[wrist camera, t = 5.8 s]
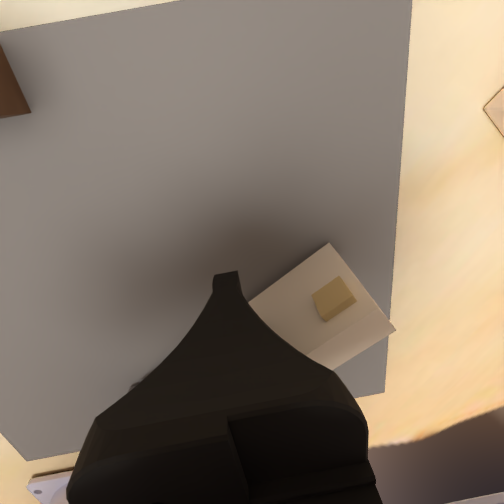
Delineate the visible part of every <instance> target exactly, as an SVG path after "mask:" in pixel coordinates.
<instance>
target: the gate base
mask: <svg viewBox="0 0 504 504" xmlns="http://www.w3.org/2000/svg"><path fill="white" fill-rule="evenodd" d="M411 12H412V0H179V1H173V2H168V3H162V4H156V5H151V6H145V7H139V8H134V9H128V10H122V11H117V12H111V13H105V14H99V15H94V16H88V17H82V18H77V19H71V20H65V21H60V22H54V23H48V24H43V25H37V26H31V27H26V28H20V29H14V30H9V31H3V32H0V44H1V47H2V49H3V51H4V53H5V55H6V58H7V60H8V62H9V64H10V66H11V69H12V71H13V73H14V75H15V77H16V80H17V82H18V84H19V86H20V88H21V90H22V93H23V95H24V97H25V99H26V101H27V104H28V106H29V108H30V110H31V112H32V113H29V114H24V115H18V116H13V117H7V118H1V119H0V433H1V434H2V435H3V436H4V437H5V438H6V439H7V440H8V441H9V443H10V444H11V445H12V446H13V447H14V448H15V449H16V450H17V451H18V452H19V454H20V455H21V456H22V457H23V458H24V459H25V460H26V461H31V460H37V459H42V458H47V457H52V456H57V455H63V454H68V453H73V452H78V451H81V448H82V446H83V443H84V441H85V438H86V436H87V434H88V432H89V430H90V428H91V426H92V424H93V421H94V419H95V417H96V416H98V415H99V414H101V413H102V412H103V411H105V410H106V409H107V408H109V407H110V406H111V405H113V404H114V403H115V402H116V401H118V400H119V399H120V398H122V397H123V396H124V395H126V394H127V393H128V390H129V389H130V388H131V387H133V386H136V385H138V384H139V383H140V382H141V381H142V380H143V379H145V378H146V377H147V376H148V375H149V374H150V373H151V372H152V371H153V370H154V369H155V368H157V367H158V366H159V365H160V364H161V363H162V361H163V360H164V359H165V358H166V357H167V356H168V355H169V354H170V353H171V352H172V351H173V350H174V349H175V348H176V347H177V345H178V344H179V343H180V342H181V340H182V339H183V338H184V337H185V335H186V334H187V333H188V331H189V330H190V329H191V327H192V326H193V324H194V323H195V321H196V320H197V318H198V317H199V315H200V313H201V312H202V310H203V309H204V307H205V305H206V303H207V301H208V299H209V298H210V296H211V294H212V292H213V289H212V282H213V277H214V275H216V274H221V273H226V272H232V271H237V270H238V275H239V279H240V284H241V289H242V293H243V296H244V297H245V299H246V301H247V302H249V301H251V300H252V299H253V298H255V297H256V296H258V295H259V294H260V293H262V292H263V291H264V290H266V289H267V288H268V287H270V286H271V285H272V284H274V283H275V282H276V281H278V280H279V279H280V278H282V277H283V276H284V275H286V274H287V273H289V272H290V271H291V270H293V269H294V268H295V267H297V266H298V265H299V264H301V263H302V262H303V261H305V260H306V259H307V258H309V257H310V256H311V255H313V254H314V253H315V252H317V251H318V250H319V249H321V248H322V247H324V246H325V245H326V244H328V243H330V244H331V245H332V247H333V248H334V249H335V250H336V252H337V253H338V254H339V255H340V257H341V258H342V259H343V260H344V262H345V263H346V264H347V266H348V267H349V268H350V270H351V271H352V272H353V273H354V275H355V276H356V277H357V279H358V280H359V281H360V283H361V284H362V285H363V287H364V288H365V289H366V291H367V292H368V293H369V295H370V296H371V297H372V299H373V300H374V301H375V303H376V304H377V305H378V306H379V308H380V309H381V310H382V312H383V313H384V314H385V316H386V317H387V318H388V320H389V321H390V307H391V293H392V279H393V265H394V251H395V237H396V223H397V209H398V195H399V181H400V167H401V153H402V139H403V125H404V111H405V97H406V83H407V68H408V54H409V40H410V26H411ZM388 336H389V335H388ZM388 336H386V337H385V338H383V339H382V340H380V341H378V342H377V343H375V344H374V345H372V346H370V347H369V348H367V349H366V350H364V351H362V352H361V353H359V354H358V355H356V356H354V357H353V358H351V359H350V360H348V361H346V362H345V363H343V364H342V365H340V366H338V367H337V368H335V369H333V370H332V371H334V372H335V373H336V374H337V375H338V376H339V378H340V379H341V380H342V382H343V383H344V384H345V386H346V387H347V388H348V390H349V391H350V393H351V394H352V396H353V397H354V398H358V397H363V396H368V395H374V394H379V393H384V392H385V378H386V364H387V350H388Z"/></svg>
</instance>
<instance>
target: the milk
mask: <svg viewBox="0 0 504 504" xmlns="http://www.w3.org/2000/svg"><path fill="white" fill-rule="evenodd" d="M484 110H485V112H486V113H487V114H488V116H489V117H490V118H491V120H492V121H493V122H494V124H495V125H496V126H497V128H498V129H499V131H500V132H501V133H502V135H503V136H504V88H503V89H502V90H501V91H500V92H499V93H498V94H497V95H496V96H495V97H494V98H493V99H492V100H491V101H490V102H489V103H488V104H487V105H486V106H485V108H484Z"/></svg>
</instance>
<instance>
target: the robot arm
mask: <svg viewBox="0 0 504 504" xmlns="http://www.w3.org/2000/svg"><path fill="white" fill-rule="evenodd" d="M212 289H213V292H212V294H211V296H210V298H209V299H208V301H207V303H206V305H205V307H204V309H203V310H202V312H201V313H200V315H199V317H198V318H197V320H196V321H195V323H194V324H193V326H192V327H191V329H190V330H189V331H188V333H187V334H186V335H185V337H184V338H183V339H182V340H181V342H180V343H179V344H178V345H177V347H176V348H175V349H174V350H173V351H172V352H171V353H170V354H169V355H168V356H167V357H166V358H165V359H164V360H163V361H162V363H161V364H160V365H159V366H158V367H157V368H155V369H154V370H153V371H152V372H151V373H150V374H149V375H148V376H147V377H146V378H145V379H143V380H142V381H141V382H140V383H139V384H138V385H137V386H135V387H134V388H133V389H132V390H131V391H129V392H128V393H127V394H126V395H124V396H123V397H122V398H120V399H119V400H118V401H116V402H115V403H114V404H113V405H111V406H110V407H109V408H107V409H106V410H105V411H103V412H102V413H101V414H99V415H98V416H96V417H95V419H94V421H93V424H92V426H91V428H90V430H89V432H88V434H87V436H86V438H85V441H84V443H83V446H82V448H81V451H80V454H79V456H78V459H77V461H76V464H75V467H74V469H73V471H67V472H62V473H57V474H52V475H47V476H42V477H36V478H32V479H30V480H29V482H28V484H27V486H26V488H27V489H28V490H29V491H30V492H31V493H32V495H33V496H34V497H35V498H36V499H37V500H38V501H39V502H40V503H41V504H383V503H382V500H381V498H380V496H379V493H378V491H377V488H376V486H375V484H376V479H375V475H374V473H373V470H372V468H371V465H370V463H369V460H368V432H369V431H368V426H367V421H366V419H365V417H364V415H363V413H362V411H361V409H360V407H359V406H358V404H357V402H356V401H355V399H354V397H353V396H352V394H351V393H350V391H349V390H348V388H347V387H346V386H345V384H344V383H343V382H342V380H341V379H340V378H339V376H338V375H337V374H336V373H335V372H334V371H332V370H330V369H329V368H327V367H325V366H323V365H321V364H319V363H317V362H315V361H314V360H312V359H310V358H309V357H307V356H306V355H304V354H303V353H301V352H300V351H298V350H297V349H295V348H294V347H293V346H292V345H290V344H289V343H288V342H286V341H285V340H284V339H282V338H281V337H280V336H279V335H277V334H276V333H275V332H274V331H273V330H272V329H271V328H270V327H269V326H268V325H267V324H266V323H265V322H264V321H263V320H262V319H261V318H260V317H259V316H258V315H257V313H256V312H255V311H254V310H253V309H252V307H251V306H250V305H249V303H248V302H247V301H246V299H245V297H244V296H243V293H242V289H241V284H240V279H239V275H238V270H237V271H232V272H226V273H221V274H216V275H214V277H213V282H212ZM447 504H504V492H501V493H496V494H491V495H487V496H481V497H476V498H471V499H466V500H462V501H456V502H451V503H447Z"/></svg>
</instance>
